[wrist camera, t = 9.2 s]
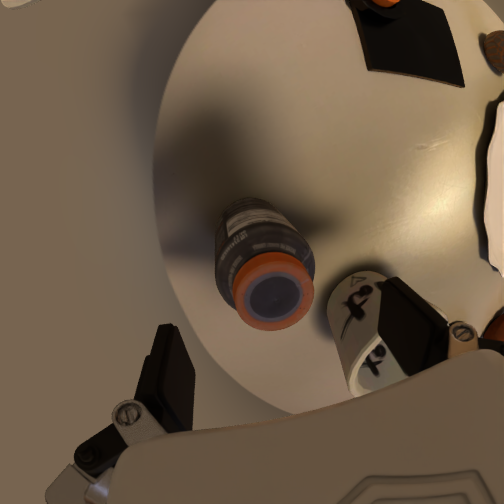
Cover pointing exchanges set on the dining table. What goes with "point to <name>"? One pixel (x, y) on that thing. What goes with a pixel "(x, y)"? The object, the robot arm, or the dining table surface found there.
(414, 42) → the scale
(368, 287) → the mug
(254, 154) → the dining table surface
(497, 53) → the vase
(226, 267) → the pill bottle
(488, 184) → the plate
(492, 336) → the potato
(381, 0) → the button
